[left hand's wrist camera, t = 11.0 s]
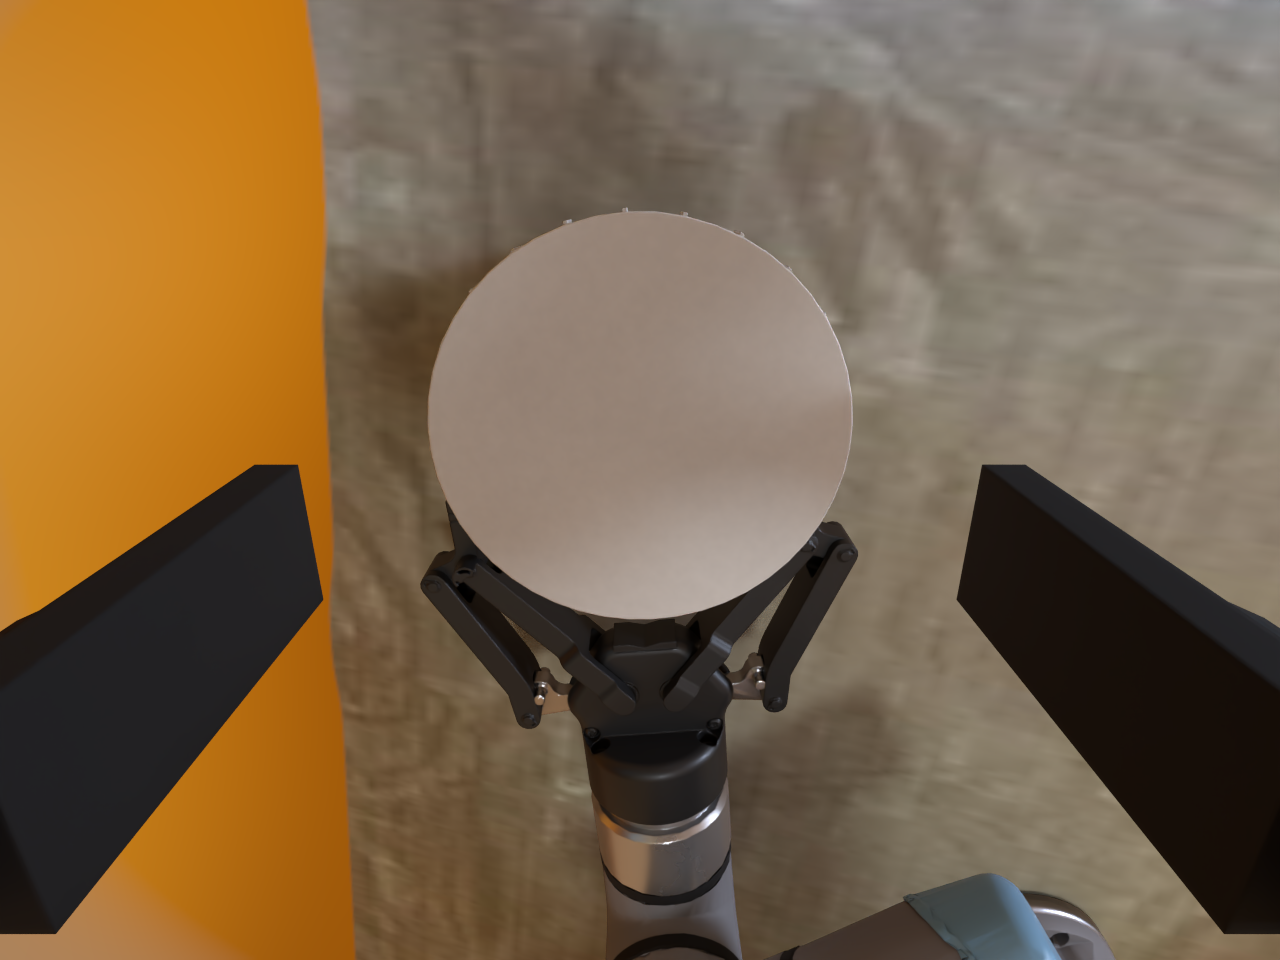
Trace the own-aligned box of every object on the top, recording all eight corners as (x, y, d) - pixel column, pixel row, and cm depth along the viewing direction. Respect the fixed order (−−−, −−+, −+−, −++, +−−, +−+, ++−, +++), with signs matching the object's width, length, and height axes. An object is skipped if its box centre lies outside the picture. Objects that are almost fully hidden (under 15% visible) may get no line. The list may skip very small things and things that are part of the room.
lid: (360, 401, 19) (335, 419, 18) (660, 108, 17) (662, 98, 15) (624, 651, 22) (623, 686, 21) (913, 435, 20) (938, 456, 18)
